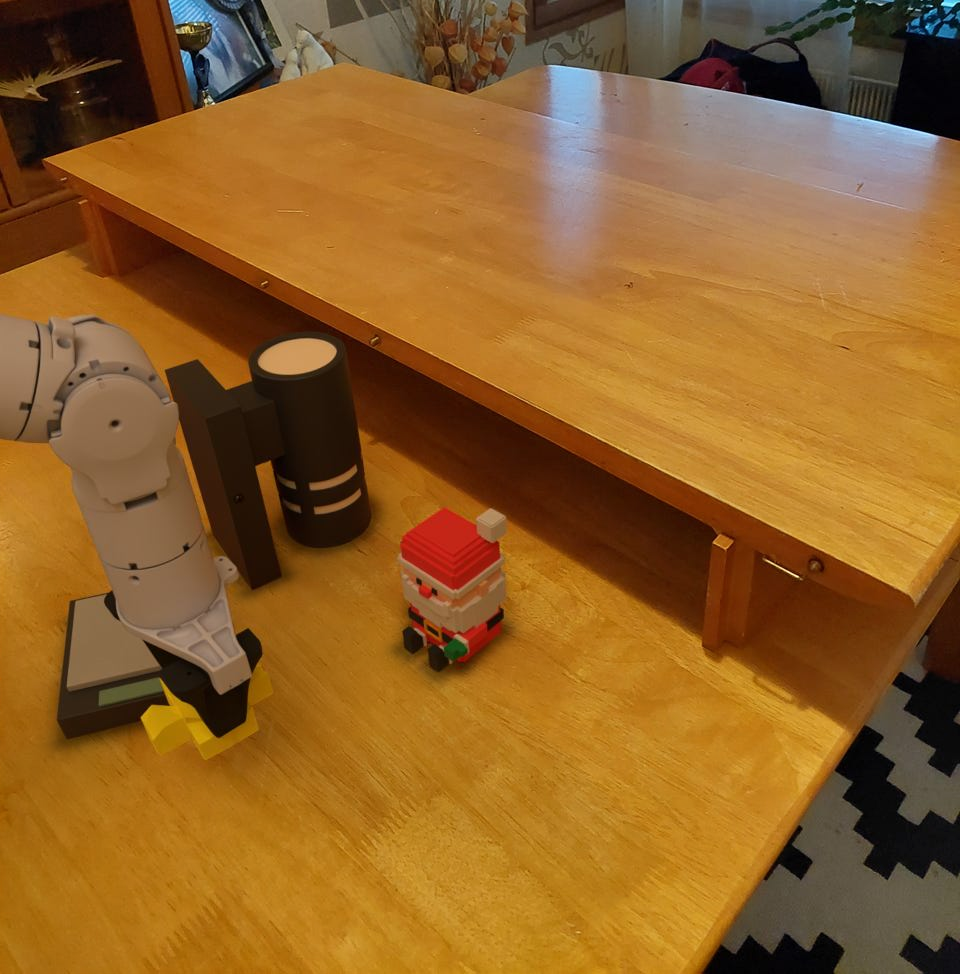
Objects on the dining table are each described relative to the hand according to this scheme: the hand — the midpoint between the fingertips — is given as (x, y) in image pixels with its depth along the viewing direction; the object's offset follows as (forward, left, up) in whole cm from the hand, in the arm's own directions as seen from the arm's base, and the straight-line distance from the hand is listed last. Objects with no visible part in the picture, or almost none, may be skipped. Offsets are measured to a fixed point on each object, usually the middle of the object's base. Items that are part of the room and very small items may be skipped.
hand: (206, 696), depth 59 cm
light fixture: (+18, +20, -9) cm, 28 cm away
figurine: (+20, 0, -9) cm, 22 cm away
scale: (0, +16, -9) cm, 18 cm away
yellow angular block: (0, 0, -2) cm, 2 cm away
